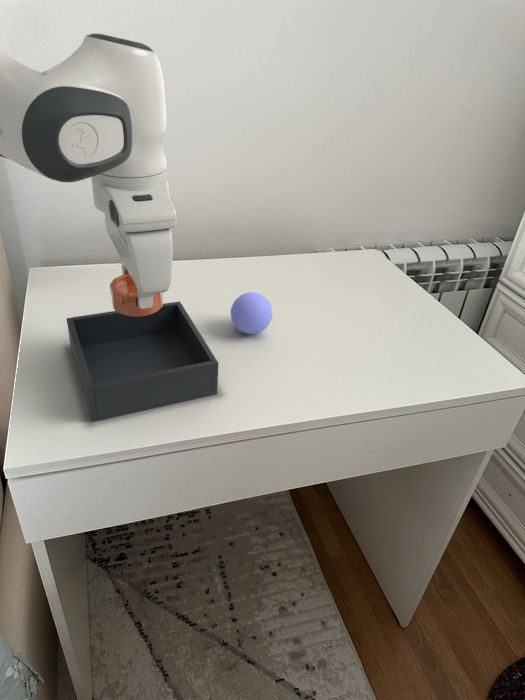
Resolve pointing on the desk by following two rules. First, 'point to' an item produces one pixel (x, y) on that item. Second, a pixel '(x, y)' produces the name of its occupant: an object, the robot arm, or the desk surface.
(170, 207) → the robot arm
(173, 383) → the tub
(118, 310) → the orange short cylinder
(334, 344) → the desk surface
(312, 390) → the desk surface
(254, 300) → the sphere
